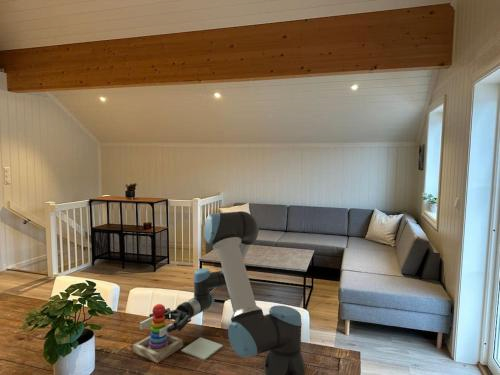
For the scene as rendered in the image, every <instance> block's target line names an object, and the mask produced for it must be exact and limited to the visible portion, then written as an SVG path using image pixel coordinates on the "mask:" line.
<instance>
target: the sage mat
mask: <svg viewBox="0 0 500 375" xmlns="http://www.w3.org/2000/svg"><path fill="white" fill-rule="evenodd" d="M223 347H224V345H223V344H222V343H218V342H216V341H212V340H210V339H206V338H204V337H199V338H197V339H196V340H195V341H193V342H191V343H189V344H188V345H187V346H185V347H183V348H182V349H181V350H180V351H181V352H183V353H185V354H186V355H190V356H192V357H195V358H198V359H200V360H202V361H206V360H207V359H208V358H210V357H211V356H212V355H214V354H215V353H216V352H219V350H221V349H222V348H223Z"/></svg>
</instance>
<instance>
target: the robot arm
mask: <svg viewBox="0 0 500 375" xmlns="http://www.w3.org/2000/svg"><path fill="white" fill-rule="evenodd" d="M259 230H260V229H259V223H258V222H257V220H256V218H255V217H254V216H253V215H252V214H251V213H249V212H247V211H242V210H241V211H228V212H226V211H225V212H220V211H219V212H215V213H210V214H208V215H207V217H206V218H205V223H204V227H203V235H204V236H203V237H204V240H205V242H206V243H207V244H211V245H212V249H213V250H214V251H216V252H218V257H219V261H220V264H221V269H220V270H217V271H213V272H212V271H210V270H209V269H208V268H198V269H196V270H195V271H194V274H193V297H192V298H190V299H188V300H186V301H184V302H182V303H180V304H178V305H177V306H176V308H175V309H172V310H171V308H170V307H168V308H165V313H164V316H165V320H164V321H166V320H167V321H171V320H174V321H173V323H169V324H168V325H166V327H164V328H162V329H160V330H159V334H160V337H162V336H164V335H166V334H170V333H172V332H173V331H178V332H180V331H182V330H183V329H184V328H185V327H186V326H187V325H188V323H190V322H191V321H192V318H193V317H195V316H197V315H199V314H200V313H202V312H204V311H206V310H208V309H210V308H211V307H212V306H214V303H215V297H214V294H213V293H212V292H211V289H217V288H221V287H226V288H227V292H228V296H229V300H230V304H231V307H232V312H233V314H232V316H231V318H230V321H231V322H230V324H228V328H227V331H228V334H227V335H228V339H229V342H230V345H231V347H232V349H233V351H234V352H235V353H236V354H237V355H238V356H239V357H242V358H248V357H254V356H256V355H260V354H263V353H265V352H267V354H266V356H265V359H264V363H263V370H264V374H265V375H306V364H305V363H306V362H305V361H304V357H303V354H302V351H301V349H302V324H303V323H302V315H301V313H300V312H299V311H298V310H297V309H295V308H293V307H290V306H287V305H273V306H271V307H270V308H269V311H268V314H264V312H263V309H262V307H259V306H258V305H257V303H256V299H255V295H254V292H253V289H252V284H251V282H250V279H249V276H248V272H247V268H246V266H245V261H244V259H245V257H246V255H247V254H248V252H249V249H250V247H251V245H253V244H255V243H256V240H257V238H258V235H259ZM153 316H154V315H153V312H152V313H149V317H148V318H147V319H145V320H143V321H140V322H139V330H141V331H142V330H143V329H146V328H147V327H150V326H152V322H153V320H152V318H153Z"/></svg>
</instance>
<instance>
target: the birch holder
mask: <svg viewBox="0 0 500 375" xmlns="http://www.w3.org/2000/svg"><path fill="white" fill-rule="evenodd" d="M150 336H151V335H150V334H149V335H148V336H147V337H144V338H143V339H142V340H140V341H137V342H135V343H134V344H132V353H134V354H137V355H139V356H140V357H143V358H146V359H147V360H150V361H151V362H154V363H160V362H162V361H163V360H164V359H166V358H168V357H169V356H171V355H172V354H174V353H176V352H177V351H179V350H180V349H181V348H184V339H183V338H180V337H178V336H174V335H172V334H170V333H167V341H168V342H167V343H168V346H167V347H166V348H164V349H162V350H161V351H159V352H155V351H153V350H151V349H148V346H149V341H150Z"/></svg>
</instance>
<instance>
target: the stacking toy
mask: <svg viewBox="0 0 500 375" xmlns="http://www.w3.org/2000/svg"><path fill="white" fill-rule="evenodd" d="M165 309H166V306H164V304H162V303H158V304H155V305H154V306H153V307H152V313H153V315H154V316H153V318H152V320H153V322H152V324H151V327H150V330H151V331H150V334H149V336H150V335H151V336H150V341H149V346H147V348H148V349H151V350H153V351H155V352H159V351H161V350H162V349H164V348H166V347H167V346H169V344H168V343H167V342H168V341H167V334H168V333H167V334H166V335H164V336H162V337H160V334H159V330H160V329H162V328H164V327H166V326H167V325H166V320H165V316H164V313H165Z"/></svg>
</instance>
